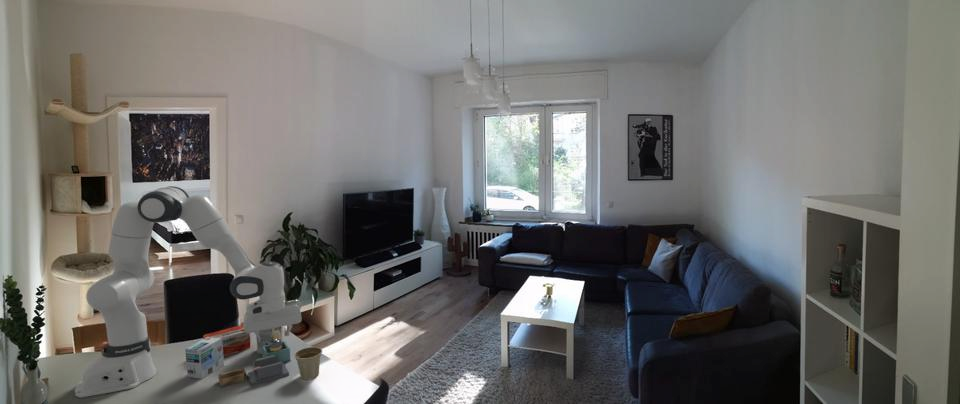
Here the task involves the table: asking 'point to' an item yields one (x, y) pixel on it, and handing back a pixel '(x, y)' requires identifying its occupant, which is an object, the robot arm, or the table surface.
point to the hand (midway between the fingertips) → (274, 338)
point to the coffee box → (268, 337)
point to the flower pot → (308, 361)
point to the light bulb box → (204, 357)
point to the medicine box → (232, 339)
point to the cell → (275, 345)
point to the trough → (232, 377)
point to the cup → (278, 352)
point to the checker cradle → (267, 370)
